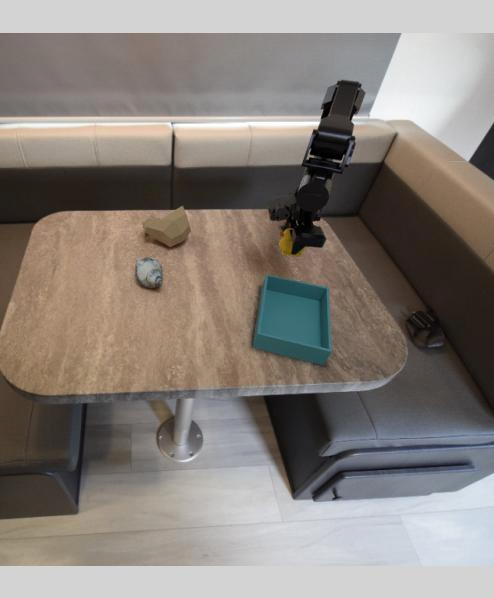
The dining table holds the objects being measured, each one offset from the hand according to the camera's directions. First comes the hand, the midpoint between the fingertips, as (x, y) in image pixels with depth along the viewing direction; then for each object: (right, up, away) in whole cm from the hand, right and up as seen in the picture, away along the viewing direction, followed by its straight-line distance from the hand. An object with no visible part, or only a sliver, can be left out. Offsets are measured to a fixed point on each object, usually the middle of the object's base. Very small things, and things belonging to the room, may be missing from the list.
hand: (291, 248), depth 85 cm
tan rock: (-30, +5, +20) cm, 37 cm away
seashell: (-35, -7, +8) cm, 37 cm away
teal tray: (-1, -18, -2) cm, 18 cm away
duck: (0, -1, +1) cm, 1 cm away
